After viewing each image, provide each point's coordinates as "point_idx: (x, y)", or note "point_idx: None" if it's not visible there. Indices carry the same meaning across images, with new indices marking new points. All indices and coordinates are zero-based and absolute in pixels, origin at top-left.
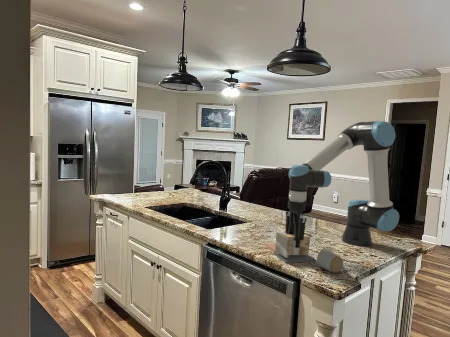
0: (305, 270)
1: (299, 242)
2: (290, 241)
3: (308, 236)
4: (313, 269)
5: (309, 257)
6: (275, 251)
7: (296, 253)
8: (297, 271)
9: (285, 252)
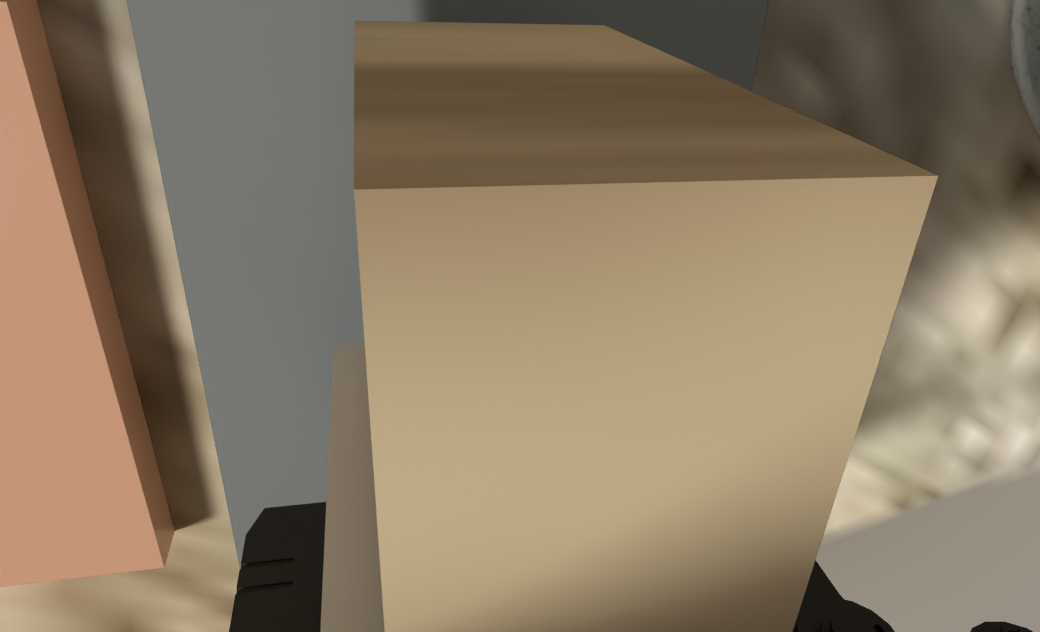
0: (960, 370)
1: (821, 583)
2: None
3: (887, 279)
4: (1001, 238)
5: (631, 14)
6: (165, 541)
7: None
8: (928, 477)
9: None
